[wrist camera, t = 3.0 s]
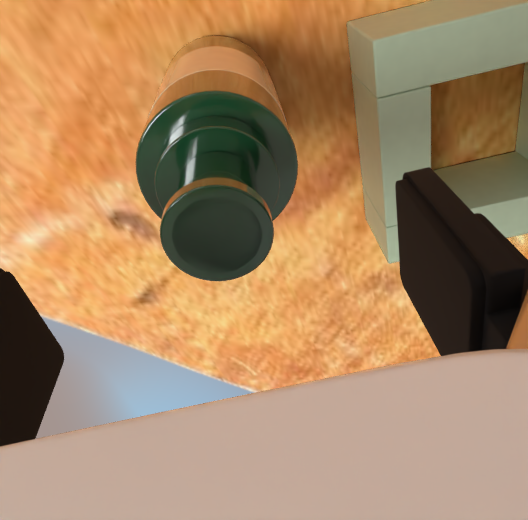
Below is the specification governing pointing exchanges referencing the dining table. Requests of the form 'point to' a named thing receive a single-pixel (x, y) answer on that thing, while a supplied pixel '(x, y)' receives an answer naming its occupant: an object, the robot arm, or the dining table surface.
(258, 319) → the dining table surface
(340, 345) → the dining table surface
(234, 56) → the bottle
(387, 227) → the rack
